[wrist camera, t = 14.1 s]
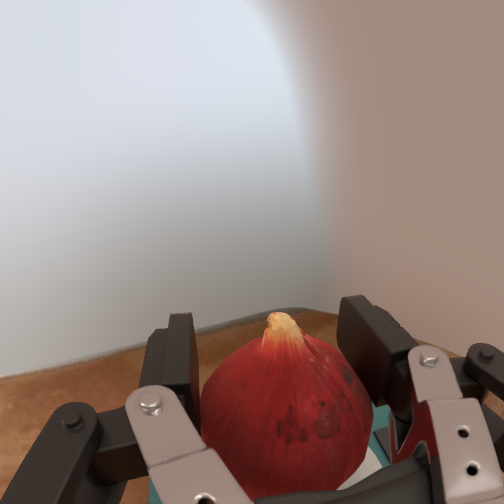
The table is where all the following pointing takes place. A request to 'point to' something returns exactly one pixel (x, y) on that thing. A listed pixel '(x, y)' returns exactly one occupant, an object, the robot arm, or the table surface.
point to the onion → (286, 413)
